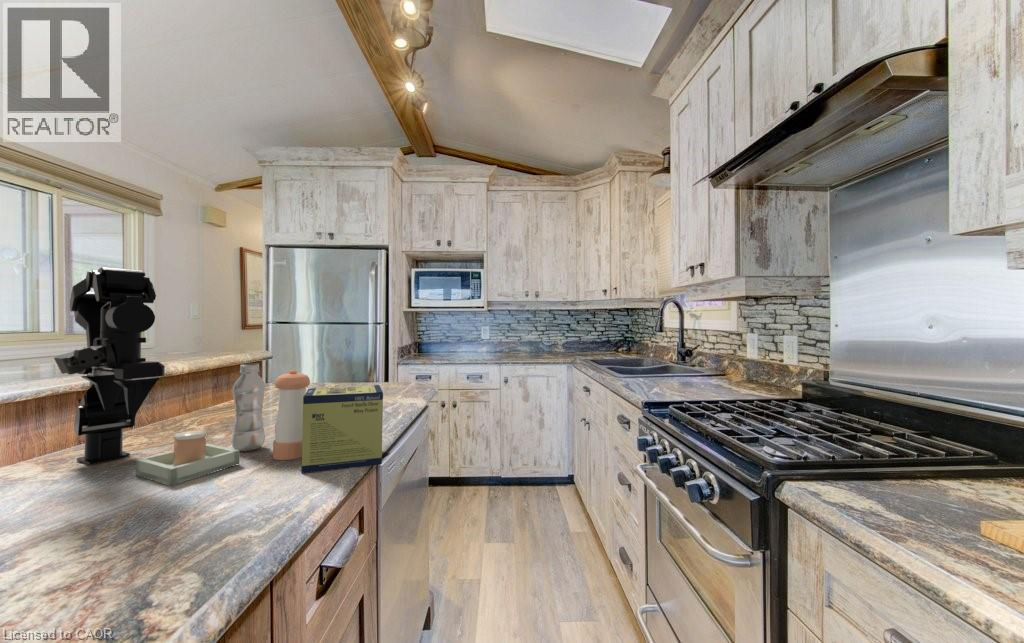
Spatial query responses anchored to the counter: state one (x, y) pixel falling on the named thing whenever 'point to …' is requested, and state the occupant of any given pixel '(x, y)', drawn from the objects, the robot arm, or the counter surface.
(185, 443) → the spice pot
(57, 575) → the counter surface
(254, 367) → the plastic bottle
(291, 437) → the pepper shaker
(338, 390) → the protein box
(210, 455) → the tray
